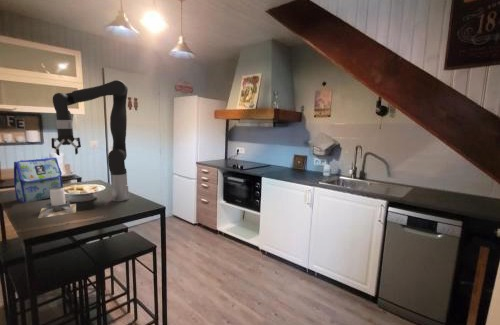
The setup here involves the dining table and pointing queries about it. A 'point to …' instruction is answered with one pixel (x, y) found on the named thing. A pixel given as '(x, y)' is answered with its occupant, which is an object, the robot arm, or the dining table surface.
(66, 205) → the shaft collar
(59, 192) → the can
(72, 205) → the shaft board
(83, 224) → the dining table surface
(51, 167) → the lunch bag
